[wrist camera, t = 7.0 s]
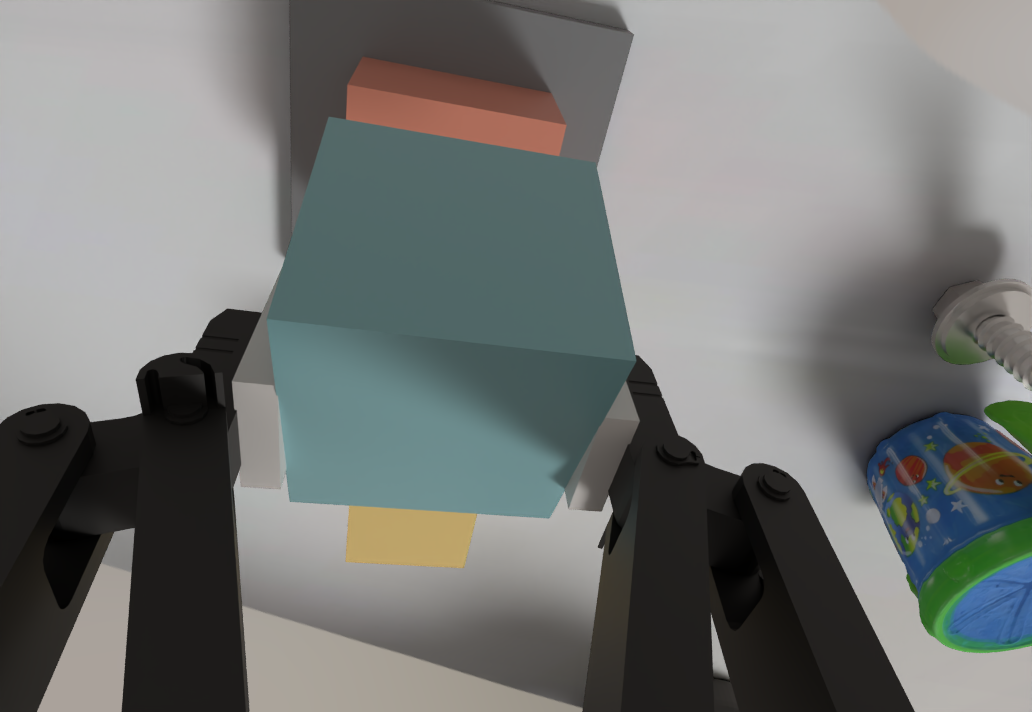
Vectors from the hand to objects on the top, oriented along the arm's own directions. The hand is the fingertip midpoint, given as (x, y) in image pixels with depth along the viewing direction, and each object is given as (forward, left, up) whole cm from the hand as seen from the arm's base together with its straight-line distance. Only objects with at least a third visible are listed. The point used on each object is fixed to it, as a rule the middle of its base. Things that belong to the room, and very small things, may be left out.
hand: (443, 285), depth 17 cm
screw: (+10, -25, -11) cm, 29 cm away
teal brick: (+1, +1, 0) cm, 2 cm away
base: (0, 0, -10) cm, 10 cm away
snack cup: (+3, -34, -11) cm, 36 cm away
